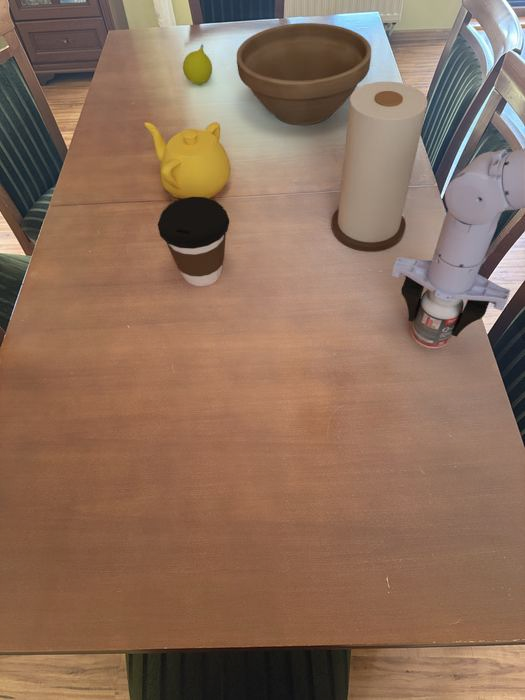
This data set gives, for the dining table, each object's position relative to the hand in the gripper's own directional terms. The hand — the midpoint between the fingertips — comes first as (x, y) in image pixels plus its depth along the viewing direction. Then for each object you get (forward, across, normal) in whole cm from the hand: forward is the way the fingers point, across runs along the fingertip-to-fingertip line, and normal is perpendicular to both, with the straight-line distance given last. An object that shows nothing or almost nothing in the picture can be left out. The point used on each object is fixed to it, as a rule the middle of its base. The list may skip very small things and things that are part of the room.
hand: (433, 323), depth 73 cm
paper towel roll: (+4, -17, +21) cm, 27 cm away
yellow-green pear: (+4, -74, +56) cm, 93 cm away
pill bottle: (+3, 0, 0) cm, 3 cm away
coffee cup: (+4, -38, -2) cm, 38 cm away
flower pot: (+4, -45, +54) cm, 70 cm away
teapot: (+4, -53, +18) cm, 56 cm away
